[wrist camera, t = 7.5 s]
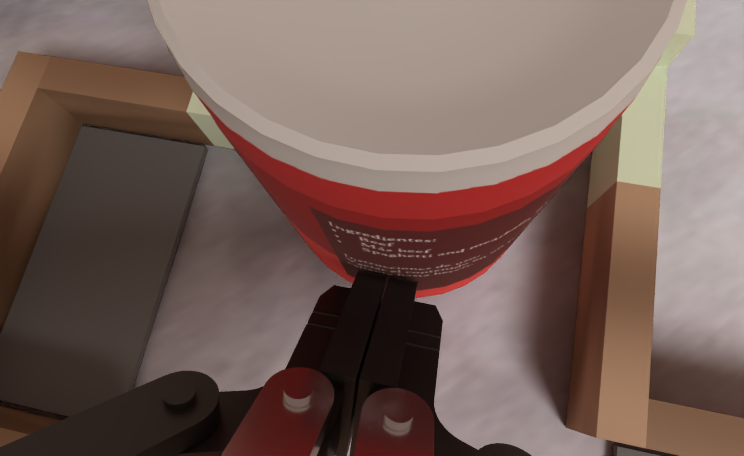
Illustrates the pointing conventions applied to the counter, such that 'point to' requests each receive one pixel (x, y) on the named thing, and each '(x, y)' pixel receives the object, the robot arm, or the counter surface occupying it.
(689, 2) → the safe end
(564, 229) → the counter surface
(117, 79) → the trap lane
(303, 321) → the counter surface
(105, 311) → the mats
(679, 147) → the counter surface
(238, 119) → the canned food
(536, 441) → the counter surface
